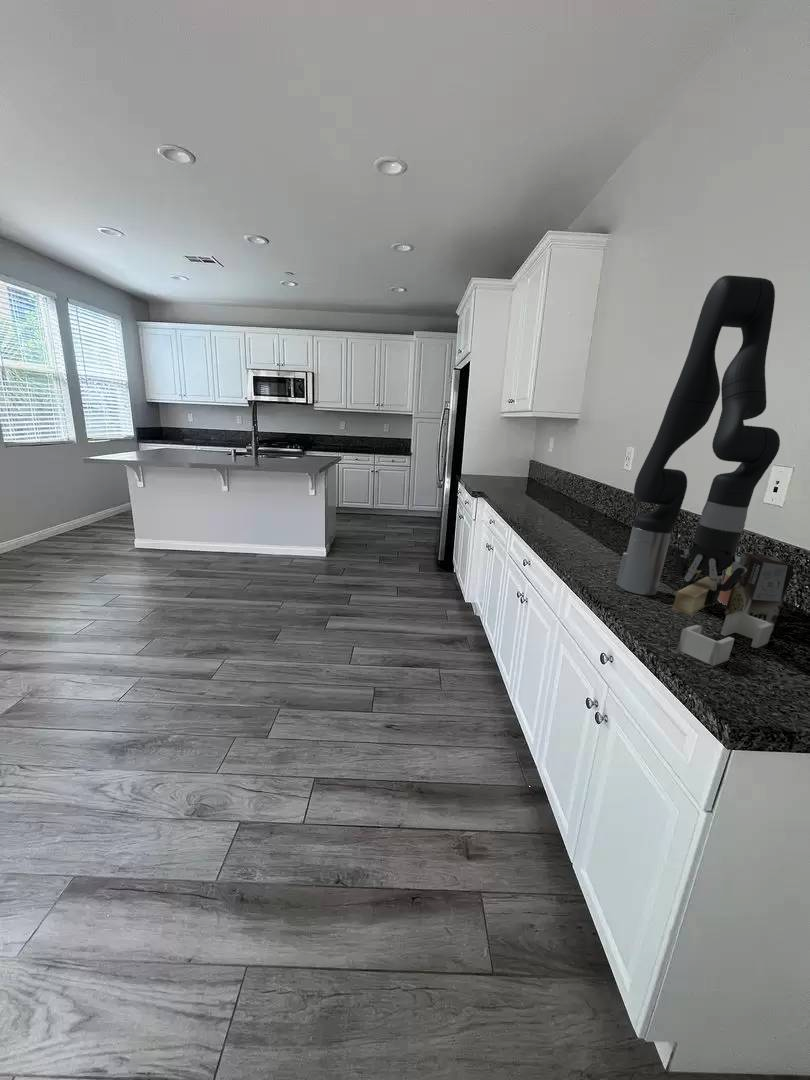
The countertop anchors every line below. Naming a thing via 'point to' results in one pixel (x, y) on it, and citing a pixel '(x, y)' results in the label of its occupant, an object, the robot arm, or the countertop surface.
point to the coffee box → (760, 587)
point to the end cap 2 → (748, 628)
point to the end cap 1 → (704, 646)
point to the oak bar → (692, 597)
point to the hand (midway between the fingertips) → (697, 601)
